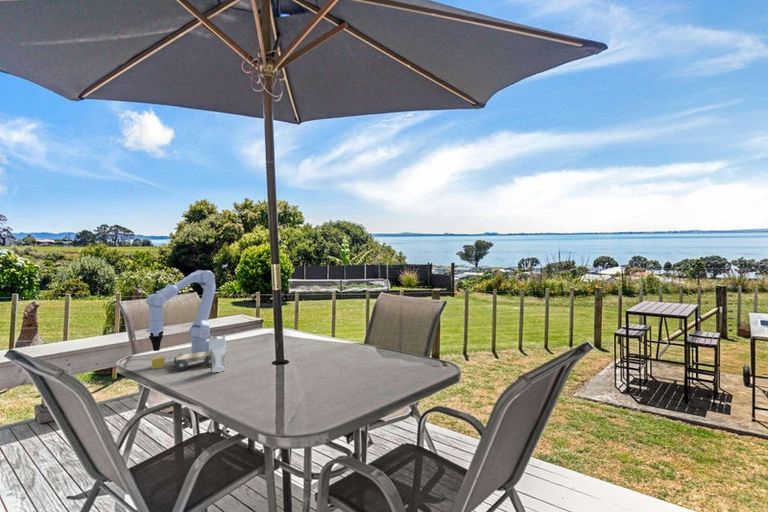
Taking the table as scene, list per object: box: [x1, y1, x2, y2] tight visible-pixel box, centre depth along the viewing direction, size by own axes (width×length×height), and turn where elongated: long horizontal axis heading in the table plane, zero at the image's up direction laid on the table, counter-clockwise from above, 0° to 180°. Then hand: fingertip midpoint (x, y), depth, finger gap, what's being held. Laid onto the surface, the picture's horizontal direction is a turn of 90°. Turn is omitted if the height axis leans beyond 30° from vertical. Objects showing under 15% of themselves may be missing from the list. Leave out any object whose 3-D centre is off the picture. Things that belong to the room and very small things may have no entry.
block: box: [151, 355, 166, 370], centre depth 181 cm, size 5×4×4 cm
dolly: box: [173, 351, 211, 372], centre depth 182 cm, size 17×12×10 cm
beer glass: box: [208, 335, 227, 374], centre depth 173 cm, size 7×7×15 cm
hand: (156, 348), depth 181 cm, fingers open, 7 cm apart
